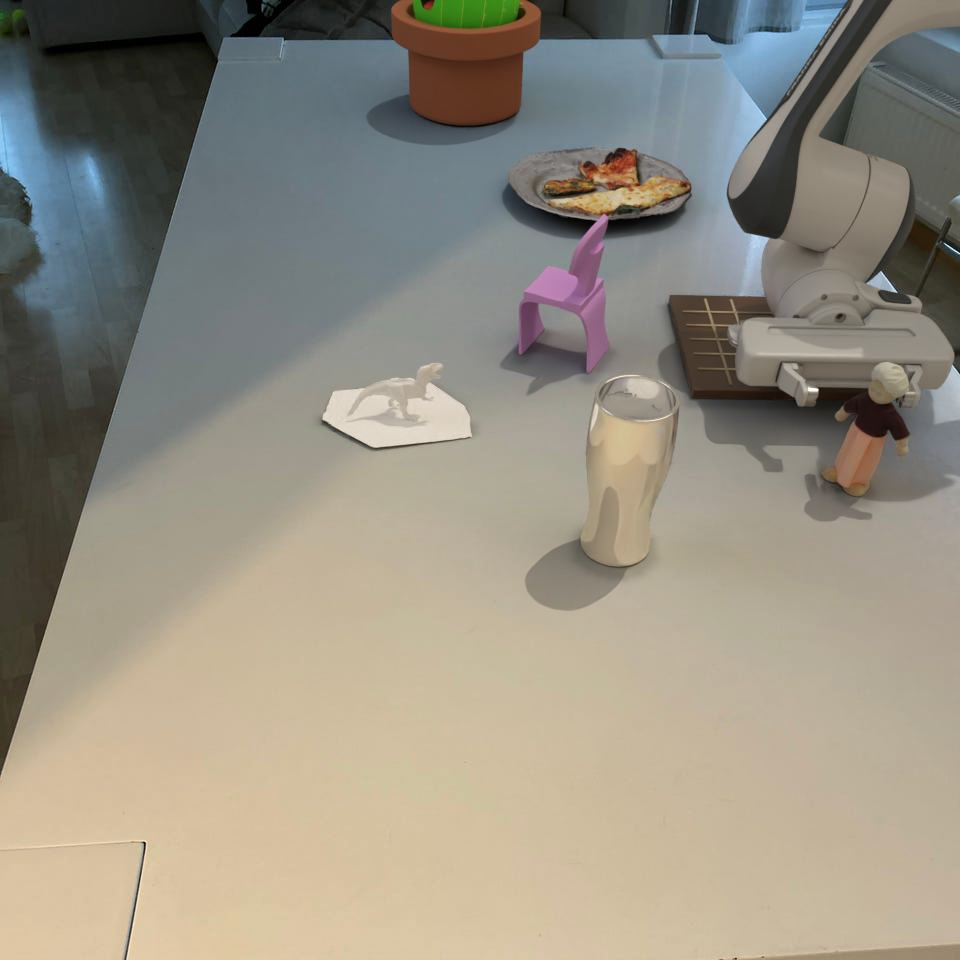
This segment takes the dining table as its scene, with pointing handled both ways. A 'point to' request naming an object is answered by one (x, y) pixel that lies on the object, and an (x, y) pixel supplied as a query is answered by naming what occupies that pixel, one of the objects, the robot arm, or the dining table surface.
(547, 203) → the food plate
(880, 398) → the grandmother figurine
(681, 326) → the game board
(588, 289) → the toy chair
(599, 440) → the beer glass
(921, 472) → the dining table surface
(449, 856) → the dining table surface
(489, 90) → the potted cactus
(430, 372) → the dinosaur figurine
